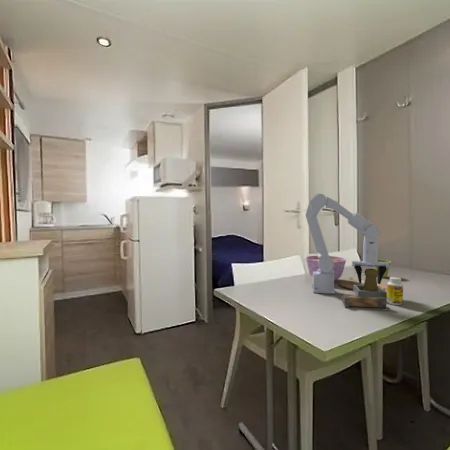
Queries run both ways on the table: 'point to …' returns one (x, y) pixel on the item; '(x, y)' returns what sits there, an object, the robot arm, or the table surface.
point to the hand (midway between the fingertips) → (369, 283)
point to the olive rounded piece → (370, 280)
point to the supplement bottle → (395, 291)
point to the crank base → (382, 309)
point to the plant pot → (386, 270)
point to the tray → (369, 292)
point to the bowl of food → (337, 261)
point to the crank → (364, 301)
